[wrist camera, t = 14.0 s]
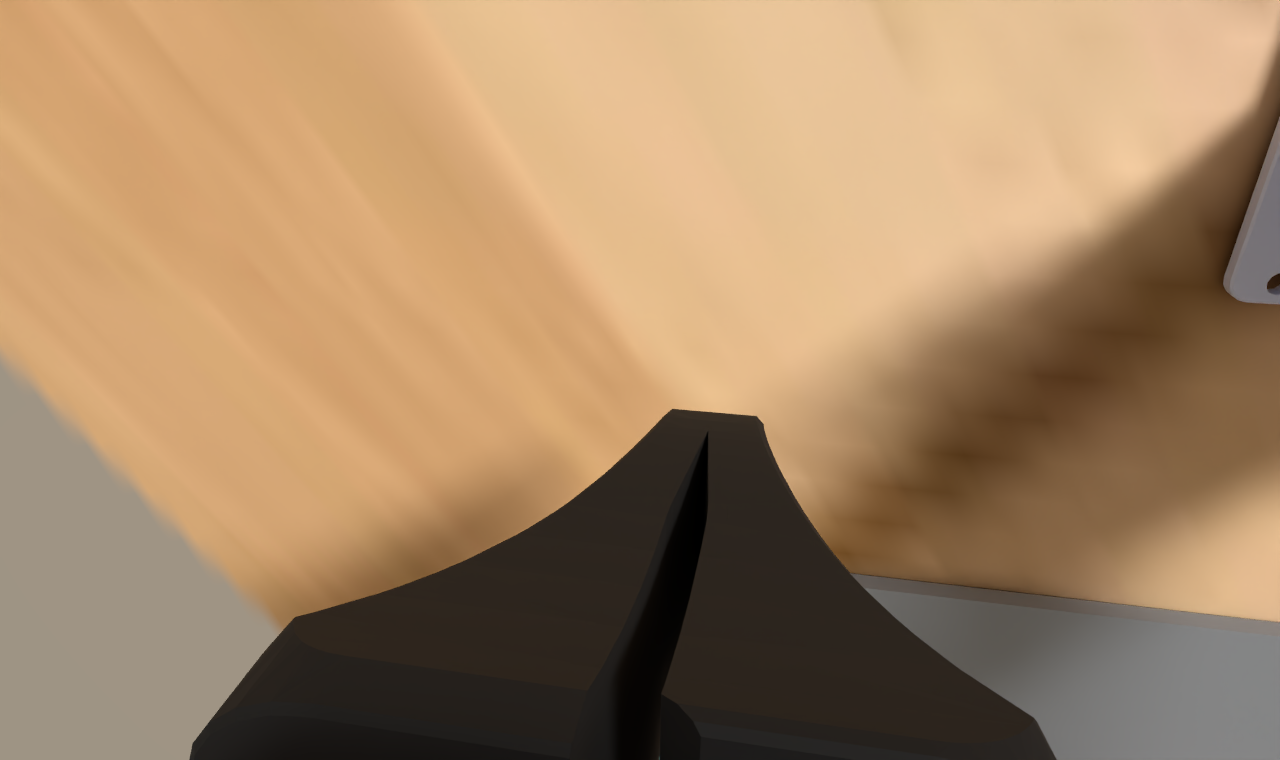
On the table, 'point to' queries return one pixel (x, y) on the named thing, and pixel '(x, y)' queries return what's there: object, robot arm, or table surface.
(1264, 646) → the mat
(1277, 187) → the robot arm
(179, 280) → the table surface
